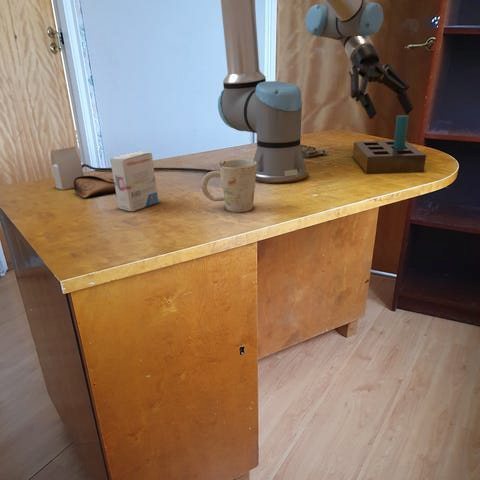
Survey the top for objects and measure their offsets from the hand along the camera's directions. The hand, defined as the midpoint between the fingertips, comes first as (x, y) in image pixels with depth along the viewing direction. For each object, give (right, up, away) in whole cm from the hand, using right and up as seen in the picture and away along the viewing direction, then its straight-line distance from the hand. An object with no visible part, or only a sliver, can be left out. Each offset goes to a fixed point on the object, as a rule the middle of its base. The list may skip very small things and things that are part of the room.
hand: (391, 113), depth 142 cm
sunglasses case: (-77, -25, -11) cm, 82 cm away
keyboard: (-25, -3, +23) cm, 34 cm away
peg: (+3, -13, +3) cm, 14 cm away
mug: (-46, -34, -29) cm, 64 cm away
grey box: (-90, -23, -6) cm, 93 cm away
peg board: (-1, -13, +4) cm, 14 cm away
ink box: (-68, -32, -25) cm, 79 cm away
